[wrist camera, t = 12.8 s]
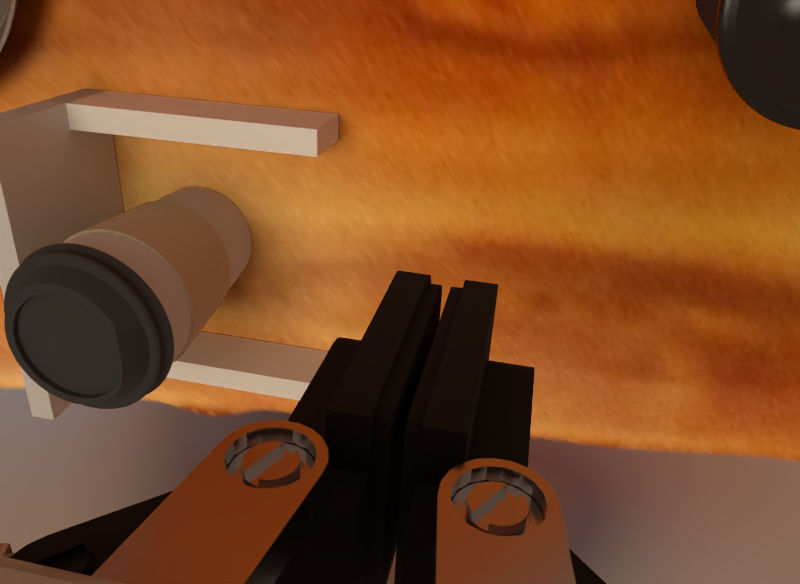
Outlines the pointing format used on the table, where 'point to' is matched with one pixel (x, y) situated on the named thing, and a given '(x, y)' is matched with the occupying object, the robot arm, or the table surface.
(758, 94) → the drinking cup
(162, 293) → the coffee cup
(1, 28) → the plant saucer
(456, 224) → the table surface
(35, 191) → the box
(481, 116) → the table surface
